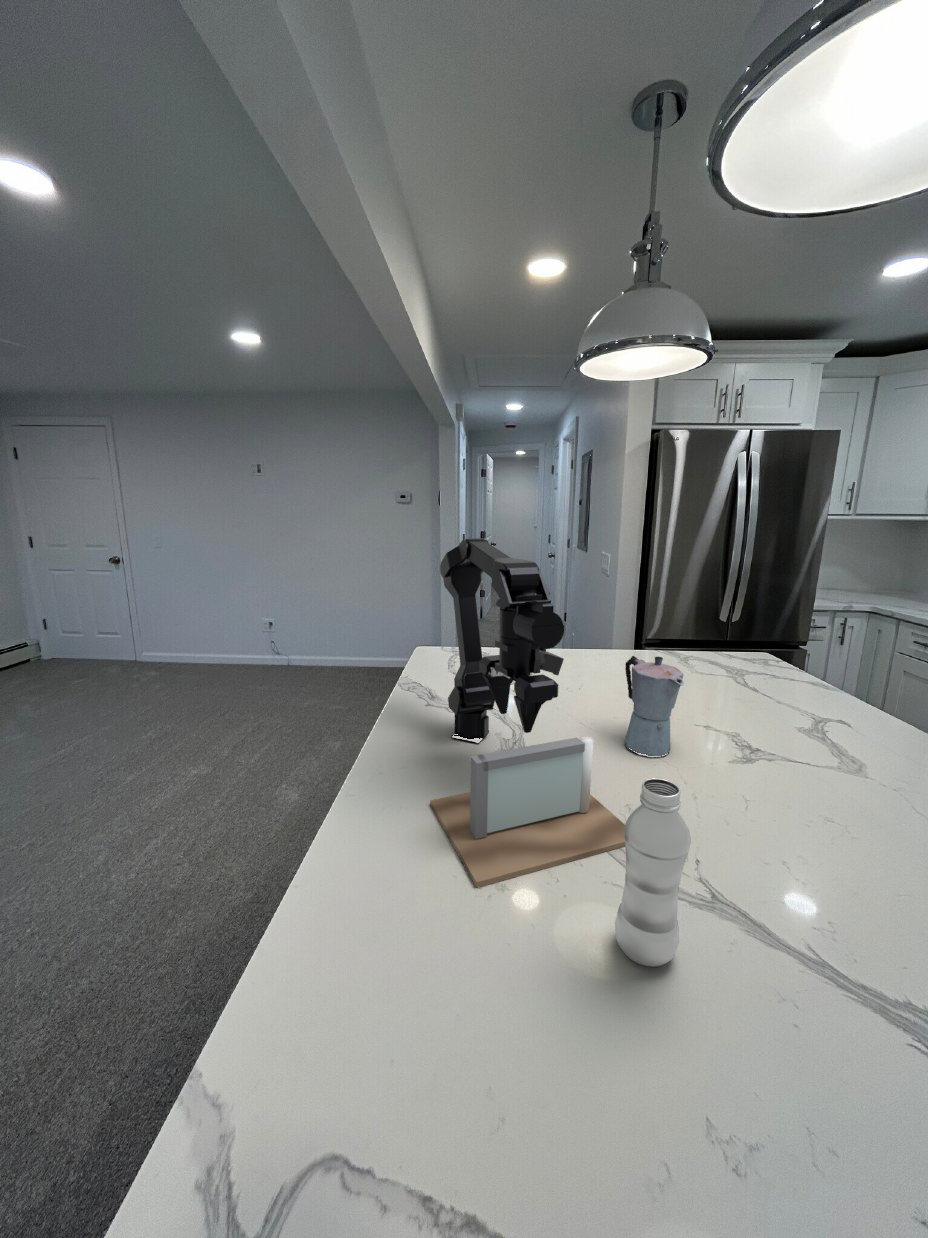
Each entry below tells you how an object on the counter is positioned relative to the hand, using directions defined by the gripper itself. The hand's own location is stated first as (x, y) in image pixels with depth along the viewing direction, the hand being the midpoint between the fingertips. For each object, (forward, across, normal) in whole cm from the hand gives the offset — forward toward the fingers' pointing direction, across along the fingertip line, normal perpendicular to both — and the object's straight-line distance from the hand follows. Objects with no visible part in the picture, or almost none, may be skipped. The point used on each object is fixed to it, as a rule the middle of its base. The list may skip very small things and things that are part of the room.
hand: (515, 722), depth 88 cm
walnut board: (+12, -12, +3) cm, 17 cm away
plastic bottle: (+13, -37, +3) cm, 39 cm away
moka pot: (+11, +2, -32) cm, 34 cm away
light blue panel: (+11, -13, +3) cm, 17 cm away
